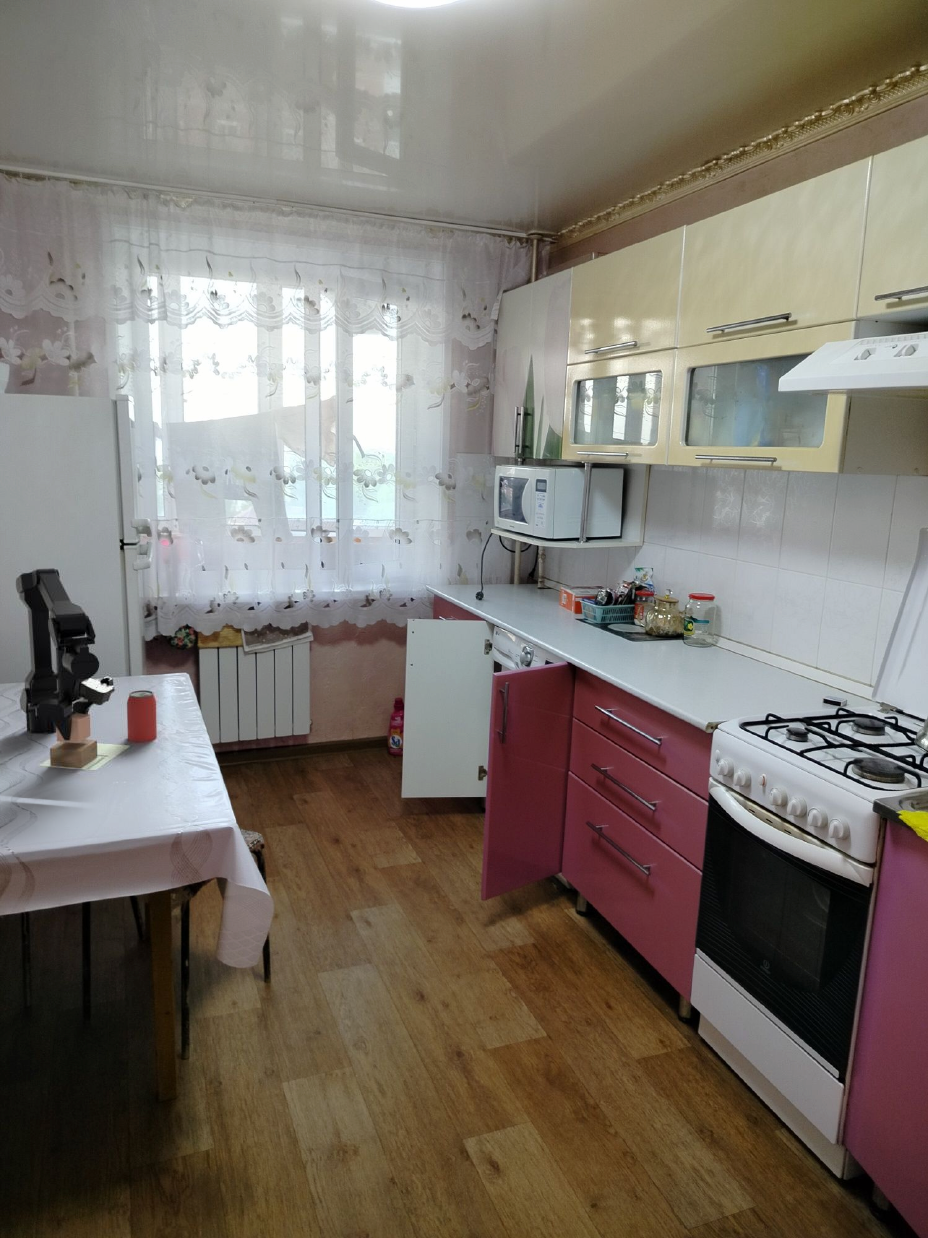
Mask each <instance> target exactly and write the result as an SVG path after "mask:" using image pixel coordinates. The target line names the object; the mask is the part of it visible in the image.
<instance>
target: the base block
mask: <svg viewBox="0 0 928 1238" xmlns="http://www.w3.org/2000/svg"><path fill="white" fill-rule="evenodd" d="M97 743H98V740H96V739H88V738H86V739H85V740H83V741H82V742H80V743H70V742H57V744H55V745H53V746H51V747H49V759H50V765H51V766H60V767H72V768H82V767H84V766H85V765H87V764H88V763H90V762H91V761H93V760H94V759H96V758H97V757H98V756H97Z"/></svg>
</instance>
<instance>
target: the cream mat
mask: <svg viewBox="0 0 928 1238" xmlns="http://www.w3.org/2000/svg"><path fill="white" fill-rule="evenodd" d="M128 748H130V745H124V744H112V743H101V742H97V756H98V757H97V758H96V759H94V760H93V761H91V762H90V763H88V764H87V765H85V766H84V767H82V768H72V767H60V766H51V765H50V758H49V759H46V760H45V761H44V762H42V763H40V764H38V767H48V768H49V767H50V768H61V769H73V770H74V769H75V770H84V771H97V770H99V769H100V768H102V767H103V766H104V765H106V764H107V763H108V762H110V761H111V760H112V759H114V758H115V757H117V756H118V755H120V754H121V753H122V752H124V751H125V750H126V749H128Z"/></svg>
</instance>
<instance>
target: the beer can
mask: <svg viewBox="0 0 928 1238" xmlns="http://www.w3.org/2000/svg"><path fill="white" fill-rule="evenodd" d="M126 719H127V720H126V722H127V723H126V724H127V740H128V741H129V742H132V743H148V742H152V741H154V740H156V739H157V735H158V734H157V733H158V732H157V731H158V730H157V726H158V725H157V700H156V697H155V695H154V692H153V691H152V690H148V689H147V690H144V689H143V690H133V691H131V692H129V695H128V699H127V700H126Z"/></svg>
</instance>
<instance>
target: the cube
mask: <svg viewBox="0 0 928 1238" xmlns="http://www.w3.org/2000/svg"><path fill="white" fill-rule="evenodd" d="M55 733H56V742H57V743H60V742H70V743H80V742H82V741H83V740H85V739H88V738H89V737H91V735H92V734H91V714H89V713H88V714H78V713H77V714H76V715H75V716H74V717H73V718H72V725H71V735H70V740H64V739H63V737H62V735H61V734H60V732H59V730H58V729H57V727H56V732H55Z"/></svg>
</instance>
